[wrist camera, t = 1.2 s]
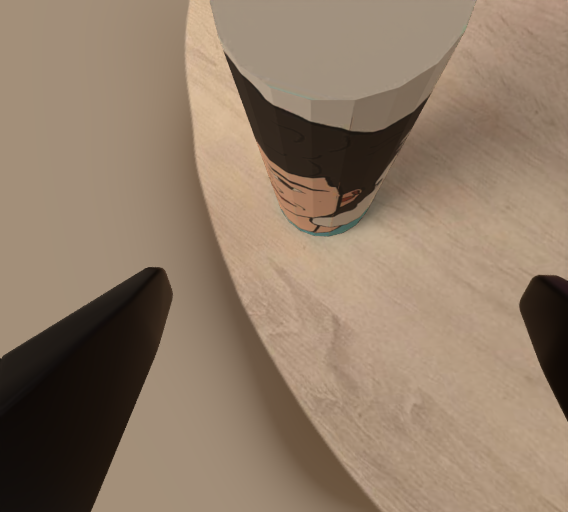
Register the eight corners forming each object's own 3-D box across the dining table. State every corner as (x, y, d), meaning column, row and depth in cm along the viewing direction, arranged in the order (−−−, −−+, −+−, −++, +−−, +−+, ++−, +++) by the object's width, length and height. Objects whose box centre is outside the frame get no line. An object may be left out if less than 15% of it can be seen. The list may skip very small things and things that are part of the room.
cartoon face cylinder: (289, 140, 24) (244, -135, 9) (379, 155, 23) (499, -122, 8) (268, 226, 23) (179, 80, 8) (361, 245, 22) (457, 121, 7)
